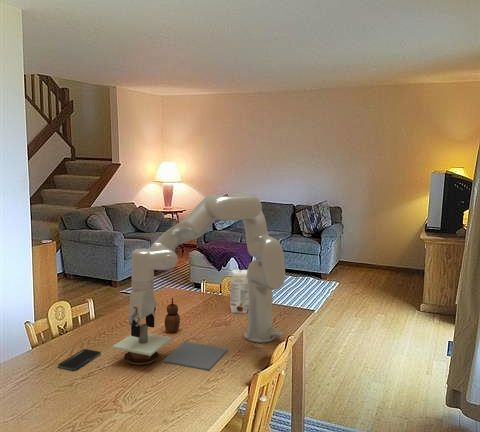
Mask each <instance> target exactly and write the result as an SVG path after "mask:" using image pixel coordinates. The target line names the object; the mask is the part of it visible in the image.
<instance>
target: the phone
mask: <svg viewBox="0 0 480 432" xmlns="http://www.w3.org/2000/svg"><path fill="white" fill-rule="evenodd" d="M101 355H102V353H101V351H98V350H93V349H88V348H84V349H80V350H79V351H78V352H76V353H75V354H73V355H71V356H70V357H67V359H65V360H63V361H61V362H60V363H58V364H57V368H58V369H60V370H65V371H69V372H70V371H71V372H77V371H79V370H80V369H82V368H83V367H84V366H87V365H88V364H89V363H91V362H92V361H94V360H96V359H97V358H99V357H100V356H101Z"/></svg>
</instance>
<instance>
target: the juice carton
mask: <svg viewBox="0 0 480 432" xmlns="http://www.w3.org/2000/svg"><path fill="white" fill-rule="evenodd" d="M247 270H248V269H232V271H231V274H230V301H229V302H230V305H229V306H230V311H231V313H232V314H248V308H249V284H248V277H247Z"/></svg>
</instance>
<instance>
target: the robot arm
mask: <svg viewBox="0 0 480 432" xmlns="http://www.w3.org/2000/svg"><path fill="white" fill-rule="evenodd" d="M262 206H263V204H262V202H261V200H260V199H259V198H258V197H257V196H253V195H251V194H246V193H241V192H234V193H231V194H229V196H224V195H220V194H219V195H218V194H213V193H212V194H208V195H207V196H205V197H204V198H203V199H202V200H201V201H199V203H198V204H197V205H196V206H195V207H194V208H193V209H192V210H191V212H190V213H188V215H186V217H185V218H184V219H183V220H182V221H180V222H178V223H176V224H174V225H173V226H172V227H171V228H169V229H167V230H165V232H163V233H162V234H161V235H160V236H159V237H158V238H157V239H156V240H155V241H154V242H153V243H152V244H151V246H150V248H136V249H133V250H132V252H131V290H130V296H129V304H128V306H129V310H128V311H129V313H128V315H127V319H128V323H129V325H130V332H131V333H130V335H131V336H134V337H140V326H139V325H140V324H141V320H143V319H145V324H147V325H148V328H154V327H155V316H156V310H157V308H156V307H157V301H155V299H156V298H155V290H154V289H155V288H154V287H155V285H154V284H155V283H154V282H155V278H154V277H155V272H154V271H155V270H156V271H169V270H172V269H174V268H175V267H176V266H177V265H178V262H179V260H178V259H179V258H178V255H177V253H176V252H175V251H174V250H175V249H176V248H177V247H178V246H180V245H181V244H183V243H186V242H188V241H192V240H193V241H194V240H195V239H198V238H200V237H202V235H203V234H204V233H205V232H206V231H207V230H208V229H209V227H211V226H212V224H214V222H215V221H217V220H219V221H226V222H227V221H242V222H243V226H244V232H245V240H246V247H247V252H248V254H249V255H250V256H252V257H253V258H255V259H254V260H252V261H251V262H250V263H249V264H248V267H247V269H246V270H247V277H248V284H249V306H248V310H247V314H248V316H247V330H246V331H244V333H243V338H244V339H245V340H247V341H248V342H252V343H262V344H263V343H269V342H272V341H274V340H275V339H276V337H278V338H282V336H283V332H282V331H281V330H280V329H275V326H274V324H272V323H273V303H274V302H273V301H274V300H273V298H274V296H273V291H275V290H276V291H277V290H279V289H281V288H282V286H283V285H284V283H285V280H286V268H285V267H286V266H285V258H284V251H283V247H282V244H281V243H280V242H279V240H277V239H276V238H274V237H271V236H269V233H268V227H267V221H266V217H265V214H264V213H263V211H262V210H263V207H262ZM136 320H137V321H136Z"/></svg>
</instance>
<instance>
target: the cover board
mask: <svg viewBox="0 0 480 432" xmlns="http://www.w3.org/2000/svg"><path fill="white" fill-rule="evenodd" d="M139 326H140V337H134V336H131V334H129V335H128V336H126V337H124V338H123V339H122V340H120V341H119V342H117V343H115V344H114V345H112V349H114V350H119V351H125V352H133V353H138V354H144V355H149V356H151V355H152V354H154V353H155V352H156V351H157V352H158V351H159V350H160V349H162V348H163V347H164V346H166V345H167V344H169V343H170V342H171V341H173V337H171V336H167V335H159V334H155V333H150V332H148V331H149V330H148V329H149V327H148V325H147V324H146V323H139Z"/></svg>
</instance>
